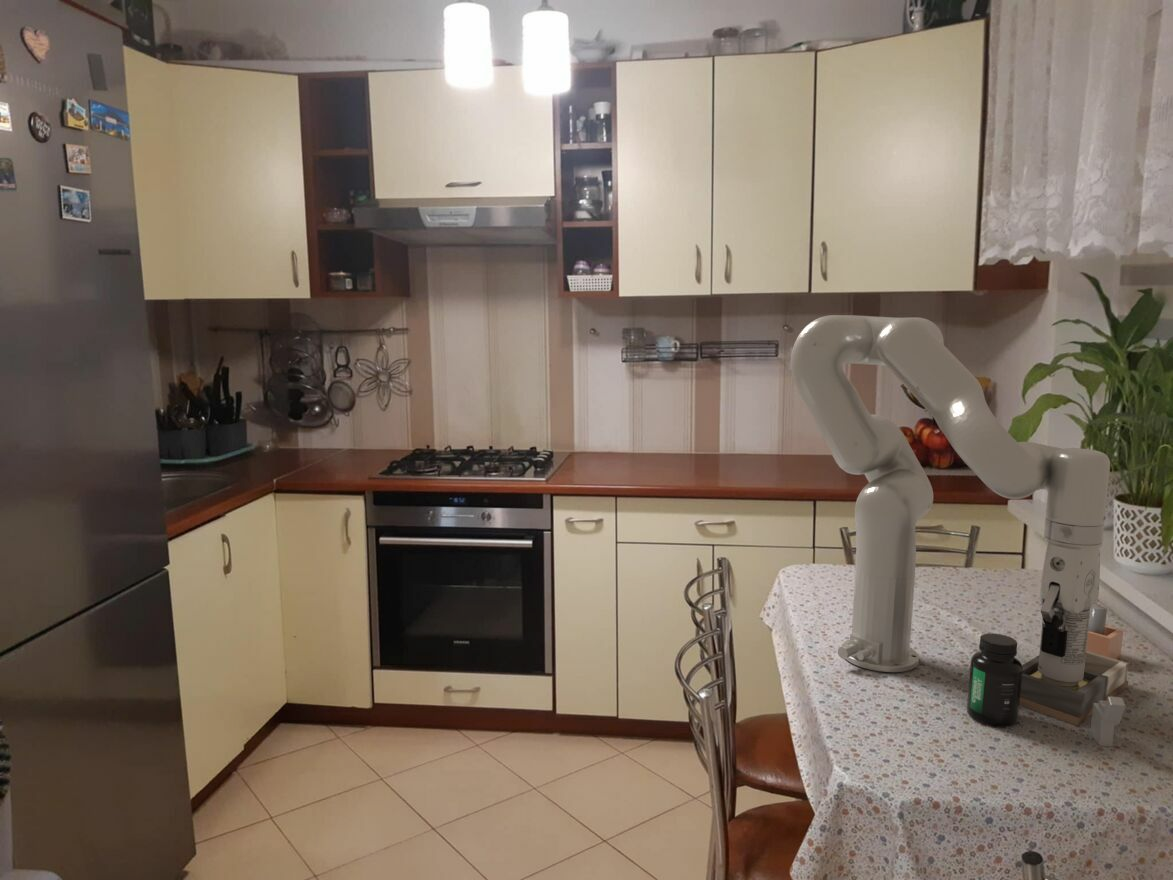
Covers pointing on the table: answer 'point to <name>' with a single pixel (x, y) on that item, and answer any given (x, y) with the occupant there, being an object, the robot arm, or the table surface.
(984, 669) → the supplement bottle
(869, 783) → the table surface
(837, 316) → the robot arm
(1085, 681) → the khaki flat square slab
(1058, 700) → the wooden tray
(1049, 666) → the energy drink can
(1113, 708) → the grey notched block
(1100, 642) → the square terracotta planter
